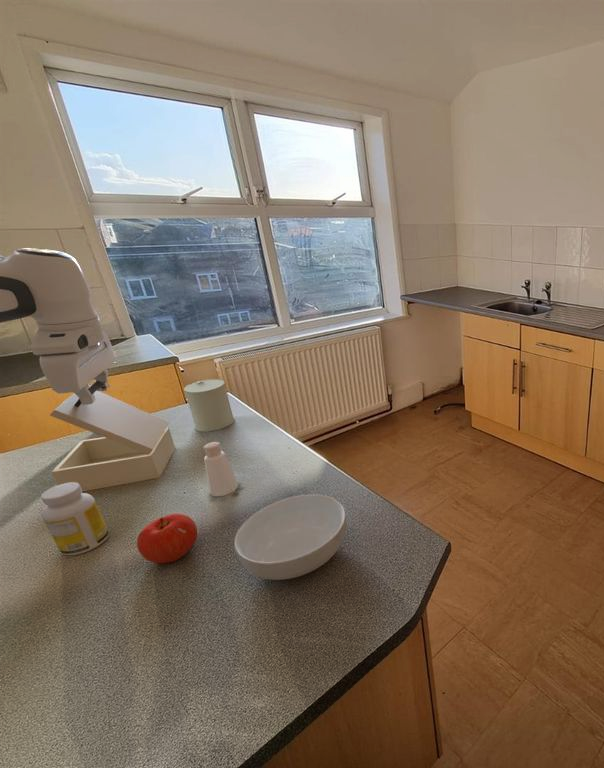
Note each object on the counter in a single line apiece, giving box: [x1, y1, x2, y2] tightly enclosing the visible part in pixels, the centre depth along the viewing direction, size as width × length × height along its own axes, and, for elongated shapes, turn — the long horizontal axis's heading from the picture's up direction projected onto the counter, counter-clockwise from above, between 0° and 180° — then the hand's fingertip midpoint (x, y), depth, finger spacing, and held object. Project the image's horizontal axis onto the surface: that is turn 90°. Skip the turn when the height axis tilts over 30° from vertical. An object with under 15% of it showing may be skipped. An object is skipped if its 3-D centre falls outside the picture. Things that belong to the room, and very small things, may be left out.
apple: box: [136, 513, 198, 564], centre depth 73 cm, size 8×8×8 cm
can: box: [183, 378, 235, 433], centre depth 116 cm, size 9×9×12 cm
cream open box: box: [51, 427, 176, 493], centre depth 97 cm, size 17×14×6 cm
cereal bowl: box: [234, 494, 348, 581], centre depth 74 cm, size 17×17×7 cm
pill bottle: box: [40, 482, 110, 556], centre depth 75 cm, size 6×6×12 cm
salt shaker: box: [203, 441, 240, 497], centre depth 90 cm, size 5×5×11 cm
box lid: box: [49, 380, 171, 455], centre depth 94 cm, size 17×14×6 cm
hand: (96, 396), depth 91 cm, fingers closed on box lid, 6 cm apart
